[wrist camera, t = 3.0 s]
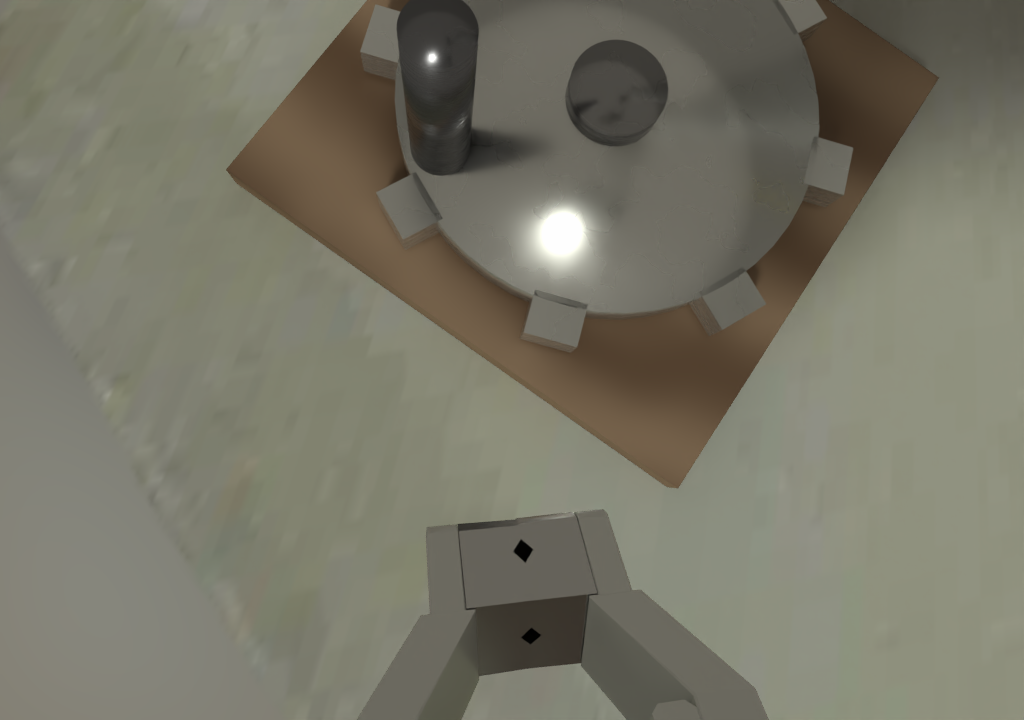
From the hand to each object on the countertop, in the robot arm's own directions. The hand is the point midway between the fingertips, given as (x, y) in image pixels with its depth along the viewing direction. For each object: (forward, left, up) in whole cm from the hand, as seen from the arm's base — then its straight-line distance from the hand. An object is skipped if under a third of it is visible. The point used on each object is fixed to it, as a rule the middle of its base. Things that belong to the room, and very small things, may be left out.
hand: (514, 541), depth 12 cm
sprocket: (-16, -5, -17) cm, 24 cm away
